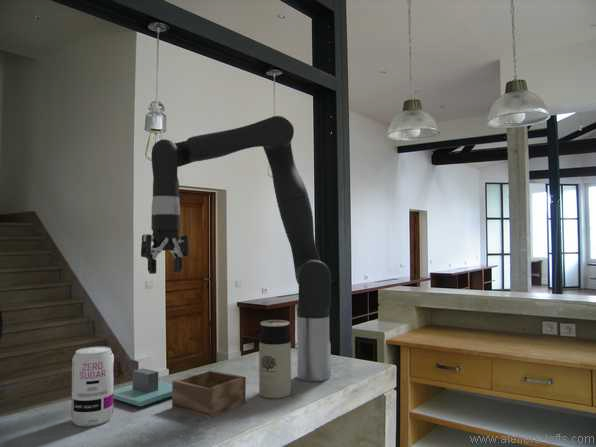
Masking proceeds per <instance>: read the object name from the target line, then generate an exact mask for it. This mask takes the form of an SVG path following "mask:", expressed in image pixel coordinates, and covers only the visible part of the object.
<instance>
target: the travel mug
mask: <svg viewBox="0 0 596 447" xmlns="http://www.w3.org/2000/svg"><path fill="white" fill-rule="evenodd" d="M259 324H260V327H261V330H260V331H261V332H260V334H259V335H258V338H259V339H258V343H259V344H258V349H259V350H258V351H259V352H258V356H259V357H258V362H259V364H258V365H259V367H258V368H259V369H258V375H259V376H258V378H259V379H258V380H259V381H258V383H259V384H258V388H259V389H258V390H259V391H258V392H259V393H258V394H259V395H260V396H262V397H264V398H267V399H275V400H277V399H283V398H287V397H288V396H290V395H291V393H292V384H291V383H292V356H291V355H292V352H291V350H292V348H291V347H292V342H291V339H292V338H291V337H292V336H291V333H290V331H289V326H290V321H288V320H286V319H285V320H283V319H268V320H263V321H260V323H259Z"/></svg>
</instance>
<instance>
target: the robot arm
mask: <svg viewBox="0 0 596 447" xmlns="http://www.w3.org/2000/svg"><path fill="white" fill-rule="evenodd" d="M293 125H294V124H293V123H292V122H291V120H290V119H288V118H287V117H285V116H281V115H274V116H271V117H268V118H265V119H262V120H259V121H257V122H255V123H251V124H247V125H244V126H241V127H236V128H231V129H227V130H222V131H215V132H211V133H210V132H209V133H204V134H199V135H198V134H197V135H194V136H190V137H189V138H187V140H183V141H180V142H179V141H178V142H173V141H171V140H169V139H159V140H157V141H156V142H155V143H154V144H153V146H152V148H151V167H152V169H151V170H152V176H153V177H152V201H151V224H150V225H151V227H150V228H151V231H152V234H150V233H149V234H146V233H145V234H142V236H141V247H140V248H141V249H140V256H141V258H146V259H147V271H148V273H149V274H150V275H151V274H152V275H154V274H155V275H156V274H157V258H158V256H159V255H160V253H161V252H162V251H169V253H171V254H172V255H173V257H174V259H173V272H174V273H181V272H182V270H183V258H184V257H188V255H189V242H188V238H189V236H188V235H187V234H180V235H179V231H180V230H181V226H180V225H181V224H180V223H181V205H180V204H181V203H180V202H181V201H180V181H179V178H178V168H180V167H182V166H186V165H189V164H192V163H195V162H202V161H207V160H213V159H217V158H221V157H225V156H229V155H230V154H233V153H237V152H238V151H239V152H240V151H243V150H246V149H251V148H259V147H262V148H263V151H264V154H265V155H266V156H265V157H266V158H267V160H268V164H269V168H270V170H271V175H272V181H273V182H272V183H273V188H274V193H275V199H276V204H277V207H278V212H279V215H280V218H281V221H282V225H283V228H284V231H285V234H286V237H287V240H288V243H289V245H290V248H291V249H290V250H291V254H292V260H293V261H292V262H293V267H294V275H295V280H296V282H297V285H298V300H297V301H298V302H297V307H296V336H297V337H296V348H297V349H296V350H297V351H296V356H297V358H296V359H297V360H296V363H297V364H296V365H297V368H296V369H297V371H296V372H297V378H298V379H299V380H301V381H306V382H322V381H327V380H329V379H330V376H331V375H332V373H331V371H332V368H331V367H332V365H331V364H332V363H331V361H332V359H331V358H332V355H331V354H332V353H331V351H332V350H331V348H332V346H331V345H332V344H331V342H330V309H331V305H332V303H331V302H332V275H331V274H332V273H331V270H330V268H329V267H328V265H327V264H326V263H325V262H323V261H322V260H321V258H320V255H319V252H318V249H317V246H316V241H315V234H314V232H315V230H314V217H313V210H312V205H311V201H310V197H309V194H308V190H307V188H306V185H305V183H304V181H303V179H302V177H301V174H300V173H299V171H298V169H297V166H296V163H295V160H294V155H293V154H294V153H293V147H292V140H293V139H294V133H295V129H294V126H293ZM152 242H153V243H152Z"/></svg>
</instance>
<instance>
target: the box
mask: <svg viewBox="0 0 596 447" xmlns="http://www.w3.org/2000/svg"><path fill="white" fill-rule="evenodd" d="M246 379H247V377H246V376H241V375H237V374H232V373H227V372H223V371H217V370H213V369H207V370H204V371H201V372H197V373H195V374H192V375H191V374H190V375H188V376H184V377H182V378H178V379H176V380H172V382H171V385H172V396H171V398H172V402H171V405H172V406H171V408H174V409H177V410H180V411H183V412H188V413H191V414H194V415H198V416H201V417H204V418H208V419H210V418H212V417H215V416H218V415H219V414H222V413H225V412H226V411H229V410H231V409H234V408H237V407H238V406H241V405H244V404H246V401H247V399H246V396H247V394H246V390H247V389H246V386H247V384H246Z"/></svg>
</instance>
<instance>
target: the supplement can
mask: <svg viewBox="0 0 596 447" xmlns="http://www.w3.org/2000/svg"><path fill="white" fill-rule="evenodd" d="M114 358H115V355H114V353H113V352H112V348H111V347H109V346H90V347H83V348H79V349H77V350H76V351H75V354H74V355H73V357H72V359H71V361H72V362H71V363H72V365H71V367H72V368H71V407H70V409H71V410H70V411H71V416H70V418H71V419H70V420H71V422H72V423H73V424H74V425H75V426H78V427H93V426H98V425H102V424H104V423H107V422H108V421H109V420H110V419H111V418H112V417H113V415H114V399H113V390H114V377H115V376H114V375H115V374H114V371H115V370H114V368H115V367H114V364H115V361H114V360H115V359H114Z"/></svg>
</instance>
